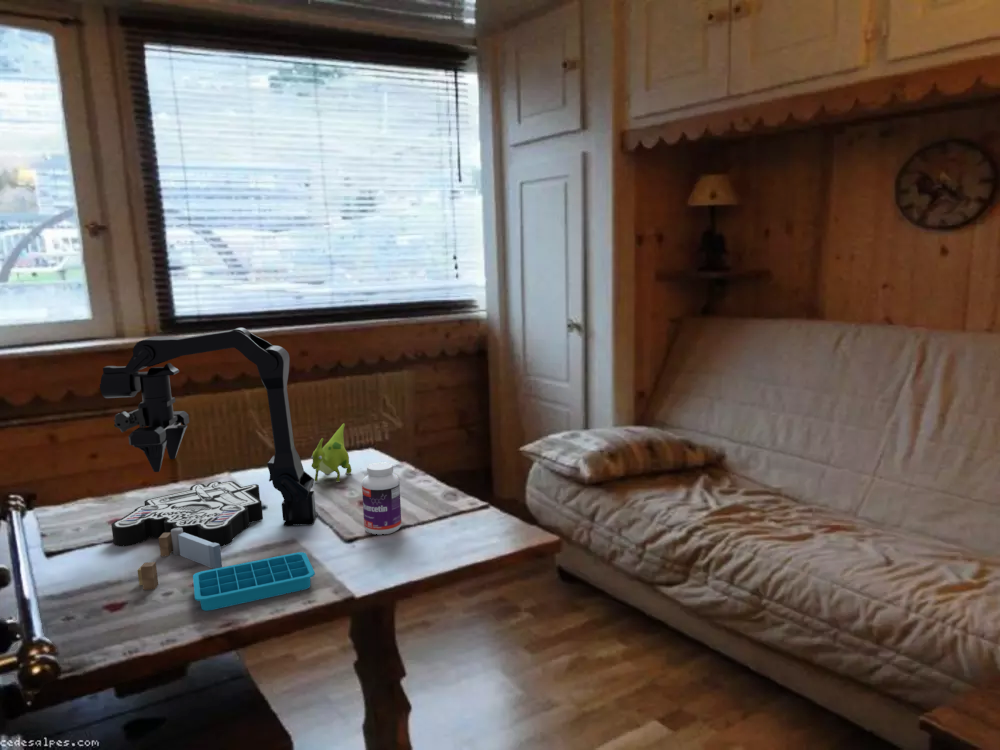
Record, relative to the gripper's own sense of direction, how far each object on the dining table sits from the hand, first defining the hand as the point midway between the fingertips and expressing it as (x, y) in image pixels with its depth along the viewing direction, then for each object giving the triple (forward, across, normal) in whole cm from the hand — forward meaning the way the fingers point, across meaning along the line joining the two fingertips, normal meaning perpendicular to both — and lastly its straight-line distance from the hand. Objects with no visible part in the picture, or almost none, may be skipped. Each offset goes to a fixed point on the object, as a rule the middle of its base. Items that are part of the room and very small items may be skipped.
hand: (164, 465), depth 156 cm
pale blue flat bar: (+15, +18, +11) cm, 26 cm away
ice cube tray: (+15, +32, +26) cm, 43 cm away
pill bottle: (+15, +8, +47) cm, 50 cm away
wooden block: (+15, +27, +6) cm, 32 cm away
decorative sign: (+15, -4, +5) cm, 17 cm away
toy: (+15, -29, +31) cm, 45 cm away
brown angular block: (+15, +14, +4) cm, 21 cm away
